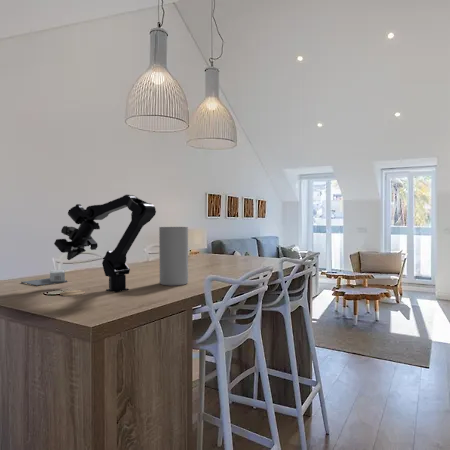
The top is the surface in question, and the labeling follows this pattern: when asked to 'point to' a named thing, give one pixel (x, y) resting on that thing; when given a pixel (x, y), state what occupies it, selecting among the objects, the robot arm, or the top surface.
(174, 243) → the cylinder vase
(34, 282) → the felt mat
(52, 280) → the skincare box
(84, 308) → the top surface
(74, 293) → the cork coaster
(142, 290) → the top surface
